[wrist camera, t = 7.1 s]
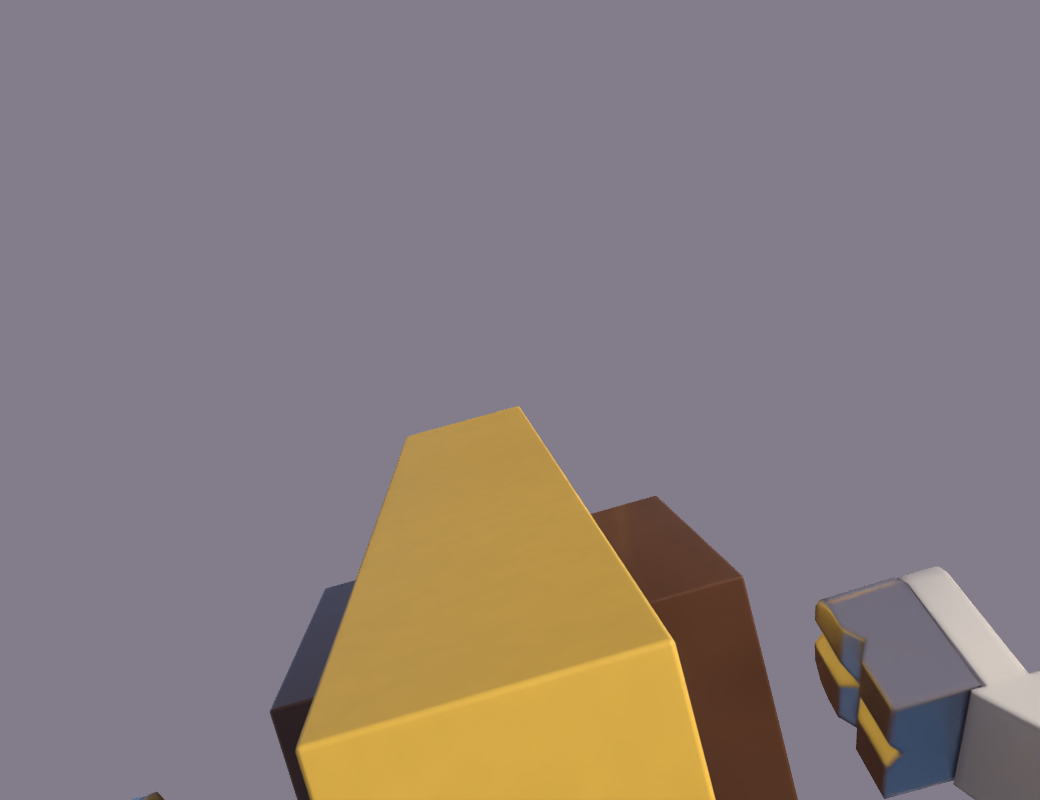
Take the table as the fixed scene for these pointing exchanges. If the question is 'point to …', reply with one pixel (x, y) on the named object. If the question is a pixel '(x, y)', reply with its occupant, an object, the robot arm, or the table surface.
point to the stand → (687, 617)
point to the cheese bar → (497, 644)
